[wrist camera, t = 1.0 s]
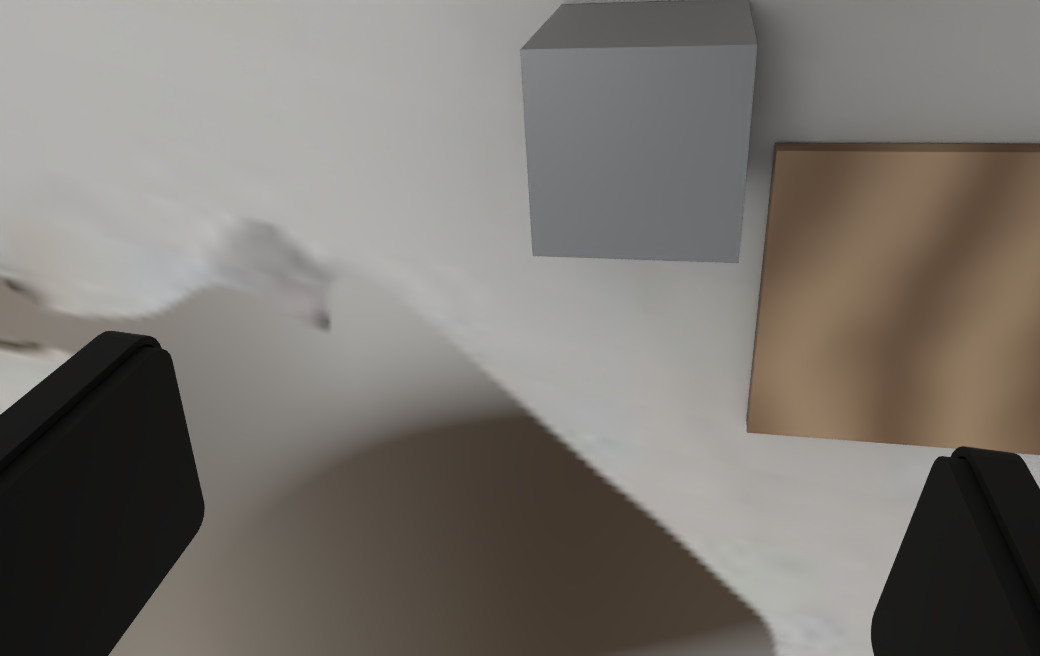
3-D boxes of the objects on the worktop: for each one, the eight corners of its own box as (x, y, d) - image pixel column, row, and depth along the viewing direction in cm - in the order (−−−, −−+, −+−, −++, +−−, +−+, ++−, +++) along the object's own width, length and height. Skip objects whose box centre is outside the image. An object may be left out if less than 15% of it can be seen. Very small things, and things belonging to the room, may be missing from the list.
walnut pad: (1172, 144, 29) (1186, 153, 28) (1063, 443, 36) (1071, 457, 36) (775, 142, 32) (776, 151, 31) (746, 419, 39) (747, 432, 38)
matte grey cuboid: (747, -2, 30) (757, 44, 23) (733, 177, 33) (738, 262, 27) (562, 4, 31) (520, 49, 24) (567, 175, 35) (532, 256, 28)
